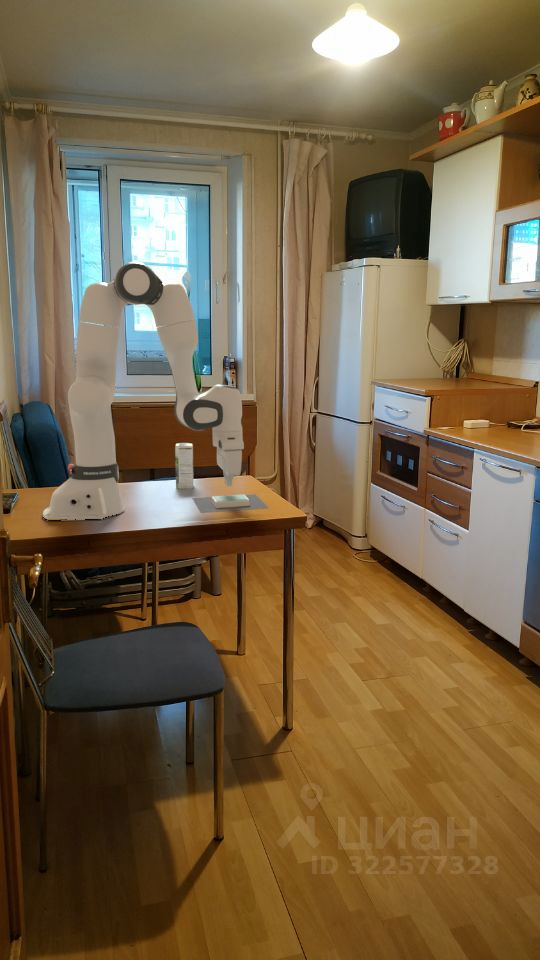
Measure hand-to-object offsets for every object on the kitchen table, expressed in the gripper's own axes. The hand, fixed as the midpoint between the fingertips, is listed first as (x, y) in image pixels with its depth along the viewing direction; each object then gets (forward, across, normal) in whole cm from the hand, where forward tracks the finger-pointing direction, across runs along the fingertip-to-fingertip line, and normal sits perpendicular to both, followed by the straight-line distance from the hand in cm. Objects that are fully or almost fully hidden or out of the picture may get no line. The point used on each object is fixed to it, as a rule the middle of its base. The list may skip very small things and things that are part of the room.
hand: (228, 485), depth 205 cm
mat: (+6, +1, 0) cm, 6 cm away
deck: (+4, -1, 0) cm, 4 cm away
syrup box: (+6, -26, -10) cm, 28 cm away
